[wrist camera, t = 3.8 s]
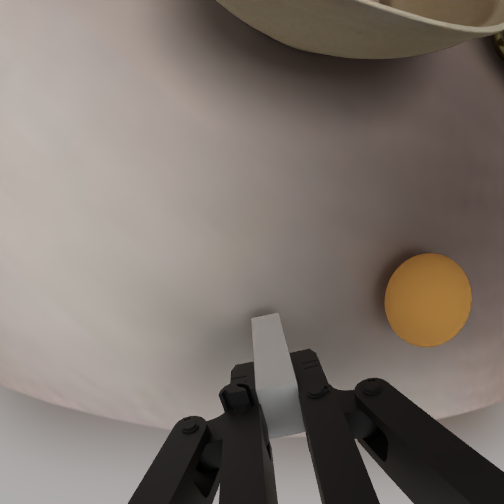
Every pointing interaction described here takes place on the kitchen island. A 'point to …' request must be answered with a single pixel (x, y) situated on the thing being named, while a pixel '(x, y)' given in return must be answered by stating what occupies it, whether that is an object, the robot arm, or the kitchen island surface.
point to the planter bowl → (371, 24)
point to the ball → (428, 300)
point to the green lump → (499, 42)
